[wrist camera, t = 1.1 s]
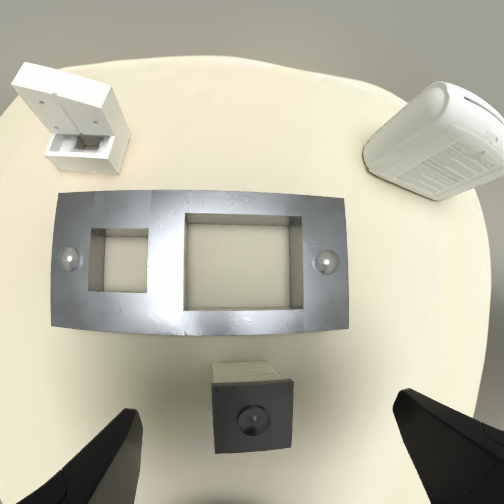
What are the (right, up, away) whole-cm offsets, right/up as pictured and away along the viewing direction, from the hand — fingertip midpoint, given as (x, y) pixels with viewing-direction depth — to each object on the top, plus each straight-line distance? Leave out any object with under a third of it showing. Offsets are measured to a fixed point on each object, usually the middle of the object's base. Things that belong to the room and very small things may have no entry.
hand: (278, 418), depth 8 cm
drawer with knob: (-2, -5, +12) cm, 13 cm away
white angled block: (-14, +13, +12) cm, 23 cm away
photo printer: (+14, +13, +17) cm, 25 cm away
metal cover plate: (-5, +4, +12) cm, 14 cm away
